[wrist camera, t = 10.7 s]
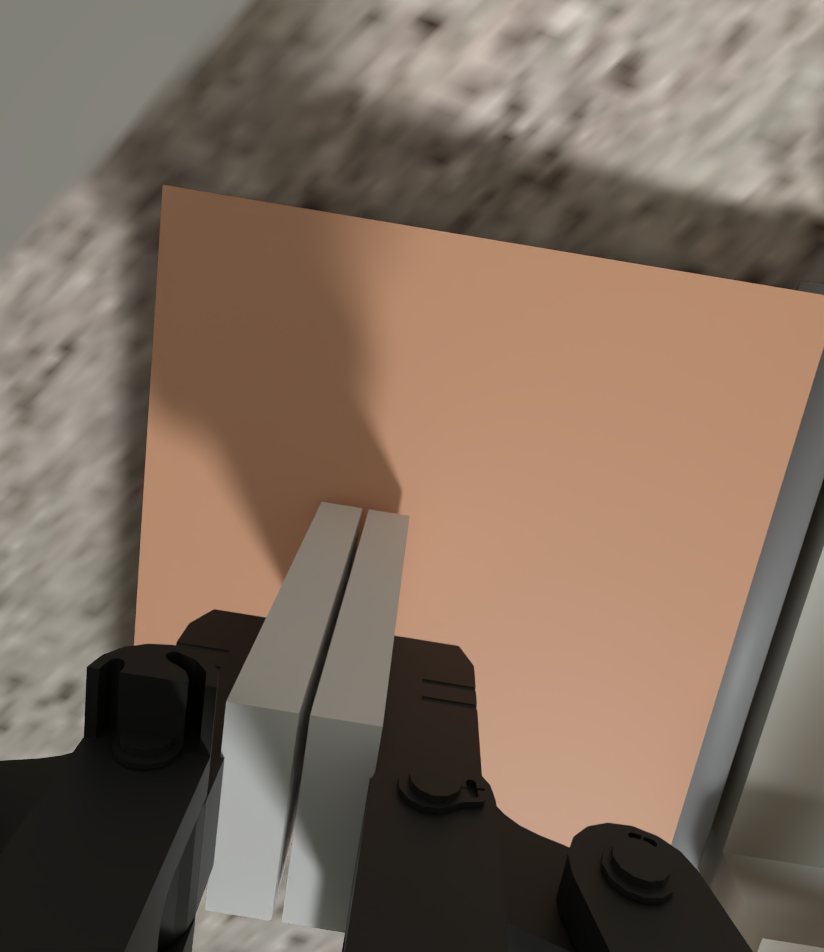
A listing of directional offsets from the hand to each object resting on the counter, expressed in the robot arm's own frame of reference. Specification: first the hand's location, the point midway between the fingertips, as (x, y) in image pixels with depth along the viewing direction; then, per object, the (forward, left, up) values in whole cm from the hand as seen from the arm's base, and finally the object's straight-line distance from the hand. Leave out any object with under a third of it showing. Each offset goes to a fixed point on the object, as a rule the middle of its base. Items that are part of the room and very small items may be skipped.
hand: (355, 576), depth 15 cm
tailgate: (+8, 0, -2) cm, 8 cm away
